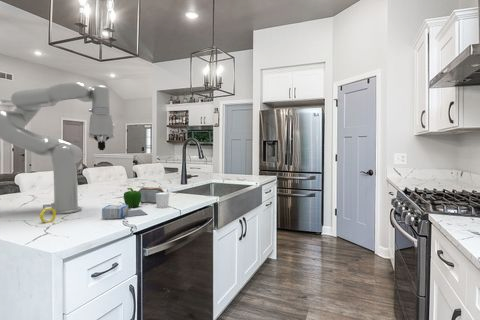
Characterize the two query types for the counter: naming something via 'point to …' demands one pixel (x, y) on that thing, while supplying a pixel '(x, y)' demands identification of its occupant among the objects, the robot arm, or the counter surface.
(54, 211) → the yellow ring
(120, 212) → the medicine box
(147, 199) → the grey curved block
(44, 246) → the counter surface
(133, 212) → the mat
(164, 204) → the shot glass
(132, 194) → the bell pepper
